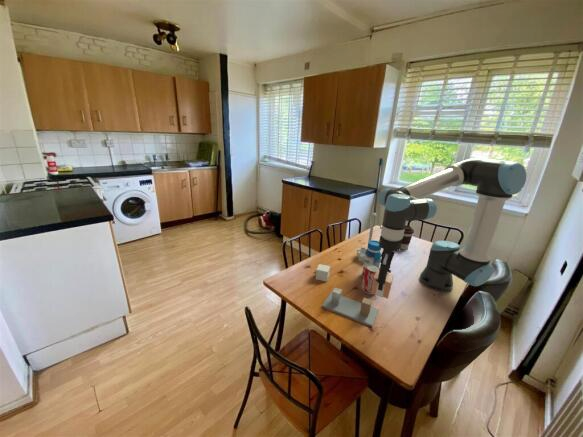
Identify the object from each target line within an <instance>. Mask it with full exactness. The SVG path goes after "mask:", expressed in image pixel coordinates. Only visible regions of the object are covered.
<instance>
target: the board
mask: <svg viewBox="0 0 583 437" xmlns="http://www.w3.org/2000/svg"><path fill="white" fill-rule="evenodd" d="M331 299H332V291H331V292H330V293H329V295H328V296H327V297H326V299H325V300H324V302H323V303H322V304H321V308H323V309H325V310H328V311H330V312H333V313H336V314H338V315H341V316H343V317H345V318H348V319H350V320H353V321H356V322H359V323H361V324H363V325H366V326H369V327H370V328H373V326H374V324H375V321H376V319H377V315H378V313H379V309H378V308H376V307H373V306H372V301H373V300H371V299H369V298H366V297H363V299H362V301H361V302H359V301H357V300H354V299H352V298H349V297H345V296H344V295H342V297H341V302H340V303H339V305H336V304H333V303H331Z"/></svg>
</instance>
